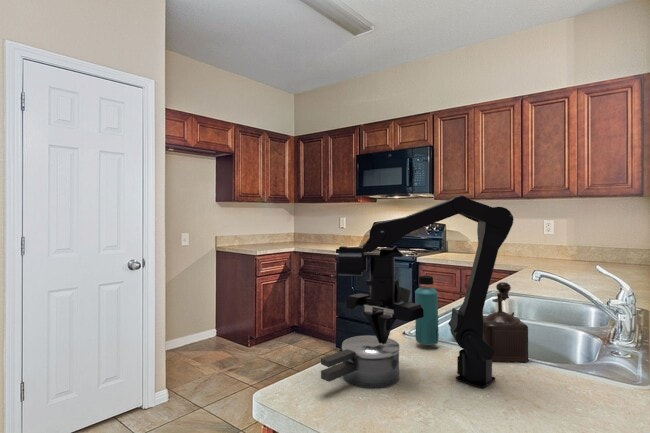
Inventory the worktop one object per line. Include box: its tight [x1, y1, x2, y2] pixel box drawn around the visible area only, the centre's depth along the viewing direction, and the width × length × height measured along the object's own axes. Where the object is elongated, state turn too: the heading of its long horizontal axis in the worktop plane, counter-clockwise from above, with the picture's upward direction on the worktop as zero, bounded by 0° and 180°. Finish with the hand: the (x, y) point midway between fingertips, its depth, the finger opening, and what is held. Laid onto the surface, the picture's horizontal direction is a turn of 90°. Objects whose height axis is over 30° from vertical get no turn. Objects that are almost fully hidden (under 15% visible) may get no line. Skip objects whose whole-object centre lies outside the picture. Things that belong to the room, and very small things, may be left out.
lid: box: [320, 335, 400, 368], centre depth 88 cm, size 13×21×1 cm, turn 133°
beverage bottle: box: [414, 275, 440, 346], centre depth 111 cm, size 6×7×20 cm
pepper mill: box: [483, 281, 530, 364], centre depth 106 cm, size 16×11×18 cm
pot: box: [320, 352, 400, 389], centre depth 88 cm, size 14×21×6 cm, turn 133°
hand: (382, 343), depth 91 cm, fingers closed
